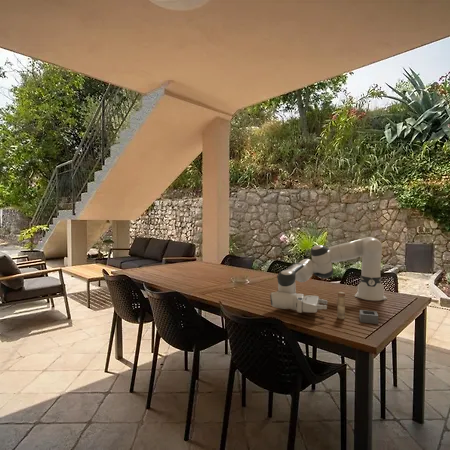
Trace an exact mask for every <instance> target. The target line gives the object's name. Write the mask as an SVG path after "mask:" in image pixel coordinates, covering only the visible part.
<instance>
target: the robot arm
mask: <svg viewBox="0 0 450 450" xmlns="http://www.w3.org/2000/svg"><path fill="white" fill-rule="evenodd" d="M310 255H311V259H309V258H304V259H302V260H300V261H299V262H296V263H292V264H291V265H290V266H288V267H287V268H286V269H284V270H281V271H280V272H278V274H277V276H276V279H277V283H278V284H277V288H278V290H277V291H274V292H270V295H269V296H270V298H269V299H270V305H271V307H273V308H276V309H281V310H289V309H290V310H292V311H296V312H297V313H300V314H302V313H317V312H318V310H327V309H328V299H327V300H326V299H323V298H319V297H320V296H318V295H312V294H311V295H309V294H308V295H307V294H306V295H304V293H297V290H296V281H297V282H299V283H305V282H307V281H309V279H310V278H311V277H312V275H314V276H316V277H317V278H320V279H328V278H331V277H332V276H333V275H334V269H333V264H332V263H338V262H339V263H340V262H344V261H349V260H353V259H357V258H360V257H362V259H361V275H360V282H359V283H358V284H357V288H356V290H357V292H356V293H355V294H354V297H355V298H358V299H362V300H365V301H372V302H373V301H379V302H380V301H383V300H387V299H388V297H387V296H385V291H384V287H385V286H384V285H383V284H382V276H381V265H382V264H381V263H382V255H383V244H382V242H381V241H380V240H379V239H378V238H376V237H374V236H367V237H363V238H359V239H355V240H353V241H352V240H351V241H349V242H343V243H340V244H334V245H332V246H329V247H327V246H325V245H324V244H323V245H322V244H318V245H314V246H312V247H311V248H310Z"/></svg>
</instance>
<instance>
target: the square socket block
mask: <svg viewBox="0 0 450 450" xmlns="http://www.w3.org/2000/svg"><path fill="white" fill-rule="evenodd" d="M358 318H359V322H360V323H366V324H374V325H375V324H376V325H379V313H378V312H377V311H376V310H367V309H359V317H358Z"/></svg>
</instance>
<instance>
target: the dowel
mask: <svg viewBox="0 0 450 450" xmlns="http://www.w3.org/2000/svg"><path fill="white" fill-rule="evenodd" d="M336 315H337V317H336V318H337V319H340V320H344V319H345V318H346V292H343V291H337V313H336ZM345 320H346V319H345Z"/></svg>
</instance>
